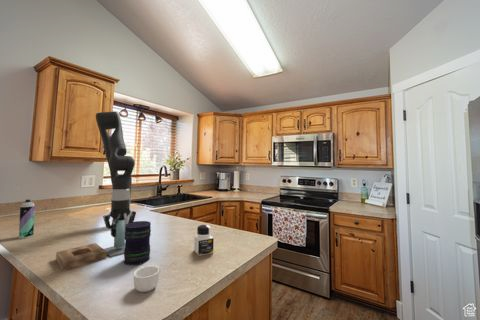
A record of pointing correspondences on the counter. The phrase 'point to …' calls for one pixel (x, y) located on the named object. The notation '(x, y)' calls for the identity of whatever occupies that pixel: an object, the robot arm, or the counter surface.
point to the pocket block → (80, 256)
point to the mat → (114, 251)
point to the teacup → (146, 278)
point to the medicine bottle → (203, 240)
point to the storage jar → (137, 242)
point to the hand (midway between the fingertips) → (119, 235)
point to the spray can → (26, 219)
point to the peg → (120, 234)
